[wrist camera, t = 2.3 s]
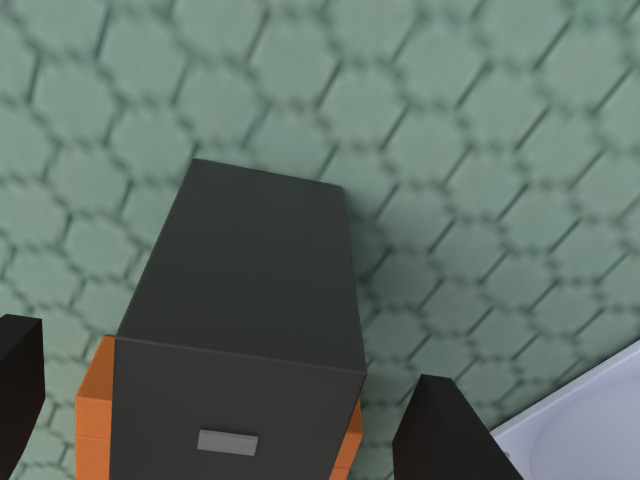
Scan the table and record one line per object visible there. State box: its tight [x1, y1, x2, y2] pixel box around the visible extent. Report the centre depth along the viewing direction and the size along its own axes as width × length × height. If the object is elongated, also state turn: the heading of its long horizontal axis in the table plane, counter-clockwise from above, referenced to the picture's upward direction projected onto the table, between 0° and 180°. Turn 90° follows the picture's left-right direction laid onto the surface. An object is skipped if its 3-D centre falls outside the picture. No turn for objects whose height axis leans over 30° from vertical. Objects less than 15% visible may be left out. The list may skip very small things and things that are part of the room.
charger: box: [109, 159, 367, 480], centre depth 13 cm, size 4×4×7 cm
